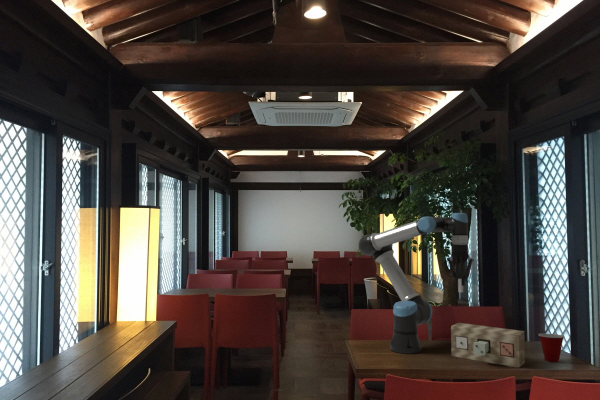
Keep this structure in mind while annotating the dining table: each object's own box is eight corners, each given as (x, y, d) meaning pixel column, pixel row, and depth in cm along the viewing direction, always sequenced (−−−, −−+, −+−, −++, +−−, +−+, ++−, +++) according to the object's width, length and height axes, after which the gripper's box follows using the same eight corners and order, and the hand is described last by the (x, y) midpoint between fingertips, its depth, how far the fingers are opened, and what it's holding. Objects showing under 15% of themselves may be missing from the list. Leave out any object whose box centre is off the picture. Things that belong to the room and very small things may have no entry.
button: (456, 347, 220) (455, 336, 221) (462, 344, 227) (461, 333, 227) (466, 349, 217) (466, 338, 217) (472, 345, 224) (472, 335, 224)
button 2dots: (473, 353, 209) (473, 342, 209) (479, 350, 216) (478, 339, 216) (484, 355, 206) (484, 344, 206) (490, 351, 213) (490, 340, 213)
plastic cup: (560, 358, 219) (559, 332, 220) (568, 364, 209) (567, 337, 209) (535, 356, 221) (534, 331, 222) (542, 363, 211) (541, 336, 212)
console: (451, 356, 222) (451, 326, 223) (459, 351, 230) (458, 322, 231) (519, 367, 204) (518, 335, 204) (524, 362, 212) (524, 331, 213)
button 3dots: (500, 354, 208) (500, 343, 208) (505, 350, 215) (505, 339, 215) (512, 356, 205) (512, 345, 205) (517, 352, 211) (517, 341, 212)
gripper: (444, 243, 232) (445, 291, 230) (470, 244, 224) (471, 294, 222) (449, 243, 238) (450, 290, 236) (475, 244, 230) (476, 292, 228)
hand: (460, 292), depth 229 cm, fingers closed
